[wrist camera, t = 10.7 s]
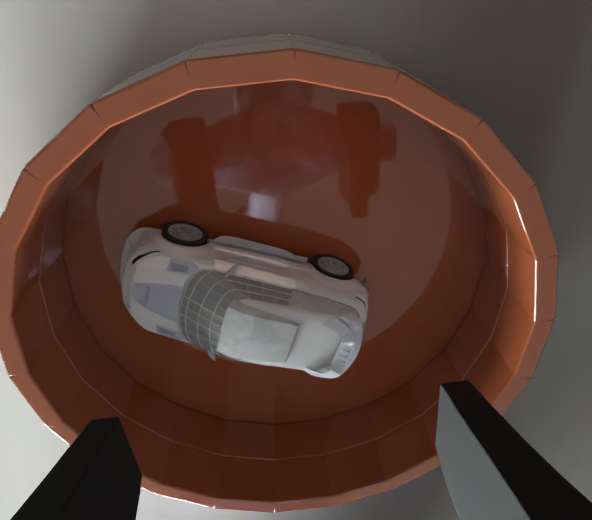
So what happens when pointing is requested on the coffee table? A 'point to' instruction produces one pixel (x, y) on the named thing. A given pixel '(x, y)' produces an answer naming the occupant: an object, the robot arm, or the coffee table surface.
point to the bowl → (290, 237)
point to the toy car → (245, 298)
